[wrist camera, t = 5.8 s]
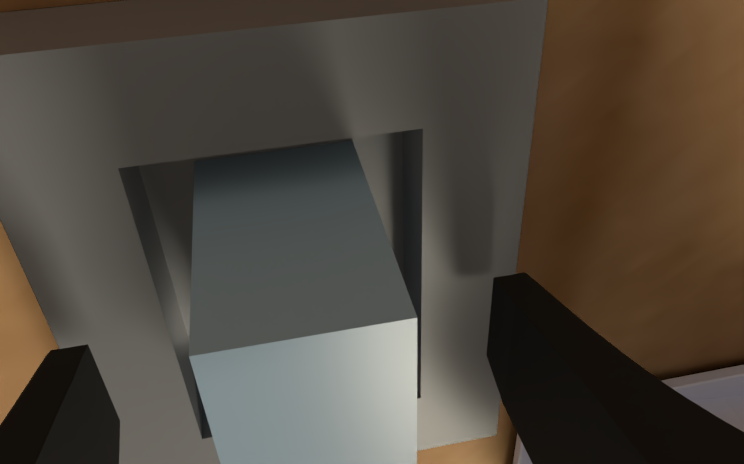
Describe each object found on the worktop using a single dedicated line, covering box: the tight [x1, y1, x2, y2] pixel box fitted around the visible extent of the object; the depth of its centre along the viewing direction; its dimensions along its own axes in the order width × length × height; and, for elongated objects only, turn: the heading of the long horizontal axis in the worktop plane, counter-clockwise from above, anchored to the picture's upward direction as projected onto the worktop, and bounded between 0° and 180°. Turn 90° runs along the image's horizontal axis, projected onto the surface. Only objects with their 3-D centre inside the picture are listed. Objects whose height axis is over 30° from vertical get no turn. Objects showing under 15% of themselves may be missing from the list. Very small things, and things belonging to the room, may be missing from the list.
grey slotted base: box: [0, 0, 548, 464], centre depth 14 cm, size 9×11×2 cm
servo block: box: [189, 141, 417, 464], centre depth 12 cm, size 3×5×5 cm, turn 2°
